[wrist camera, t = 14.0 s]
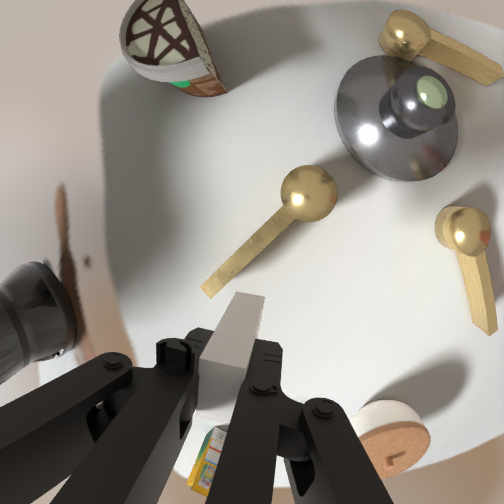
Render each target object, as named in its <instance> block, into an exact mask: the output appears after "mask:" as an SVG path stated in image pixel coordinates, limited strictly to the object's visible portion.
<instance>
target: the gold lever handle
mask: <svg viewBox="0 0 504 504" xmlns="http://www.w3.org/2000/svg"><path fill="white" fill-rule="evenodd" d="M435 232H436V236H437V239H438V241H439V242H440V243H441V244H442V245H443V246H445V247H447V248H450V249H452V250H455V251H456V254H457V257H458V261H459V264H460V268H461V272H462V276H463V279H464V284H465V288H466V292H467V297H468V301H469V306H470V312H471V317H472V322H473V323H474V324H475V325H476V326H477V327H479V328H480V329H481V330H482V331H483V332H484V333H486V334H487V335H488V336H490V335H492V334H493V333H494V332H496V331H497V330H498V326H497V316H496V308H495V301H494V294H493V288H492V283H491V277H490V272H489V267H488V263H487V258H486V254H485V249H486V247H487V245H488V243H489V239H490V223H489V220H488V218H487V216H486V215H485V213H484V212H483V211H481V210H479V209H476V208H467V207H457V206H448V207H445V208H444V209H442V210H441V212H440V213H439V214H438V216H437V219H436V223H435Z"/></svg>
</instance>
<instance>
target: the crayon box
mask: <svg viewBox="0 0 504 504" xmlns="http://www.w3.org/2000/svg"><path fill="white" fill-rule="evenodd" d="M226 434H227V432H225V431H223V430H221V429H219V428H218V427H216V426H215V427H214V428H213V429H212V430H211V431H210V432H209V433H208V434H206V436H205V439H204V441H203V444H202V446H201V449H200V452H199V454H198V456H197V459H196V461H195V464H194V466H193V469H192V471H191V474H190V476H189V478H188V481H187V484H188V485H190V486H192V488H191V490H193V491H195V492H197V493H199V494H201V495H204V496H206V497H207V496H208V493H209V490H210V486H211V483H212V480H213V477H214V474H215V470H216V467H217V464H218V461H219V457H220V454H221V451H222V447H223V444H224V441H225V437H226Z"/></svg>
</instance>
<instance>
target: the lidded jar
mask: <svg viewBox="0 0 504 504" xmlns="http://www.w3.org/2000/svg"><path fill="white" fill-rule="evenodd" d="M349 421H350V423H351V425H352V427H353V428H354V430H355V432H356V434H357V436H358V438H359V440H360V441H361V443H362V445H363V447H364V449H365V451H366V453H367V454H368V456H369V458H370V460H371V462H372V464H373V466H374V468H375V469H376V471H377V473H378V475H379V477H380V479H385V478H389V477H391V476H394V475H396V474H399V473H401V472H403V471H405V470H406V469H408V468H409V467H411V466H412V465H414V464H415V463H416V462H417V461H418V460H419V459H421V458H422V456H423V455H424V454H425V452H426V451H427V449H428V447H429V445H430V435H429V432H428V430H427V428H426V427H425V426H424V424H423V422H422V420H421V418H420V417H419V415H418V414H417V413H416V412H415V411H414V410H413V409H412V408H411V407H410V406H408V405H407V404H405V403H402V402H400V401H395V400H385V399H383V400H376V401H373V402H370V403H368V404H366V405H365V406H363V407H362V408H361V409H360V410H359V411H358V412H357V413H356V414H355V415H354V416H353V417H352V418H351V419H350V420H349Z"/></svg>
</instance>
